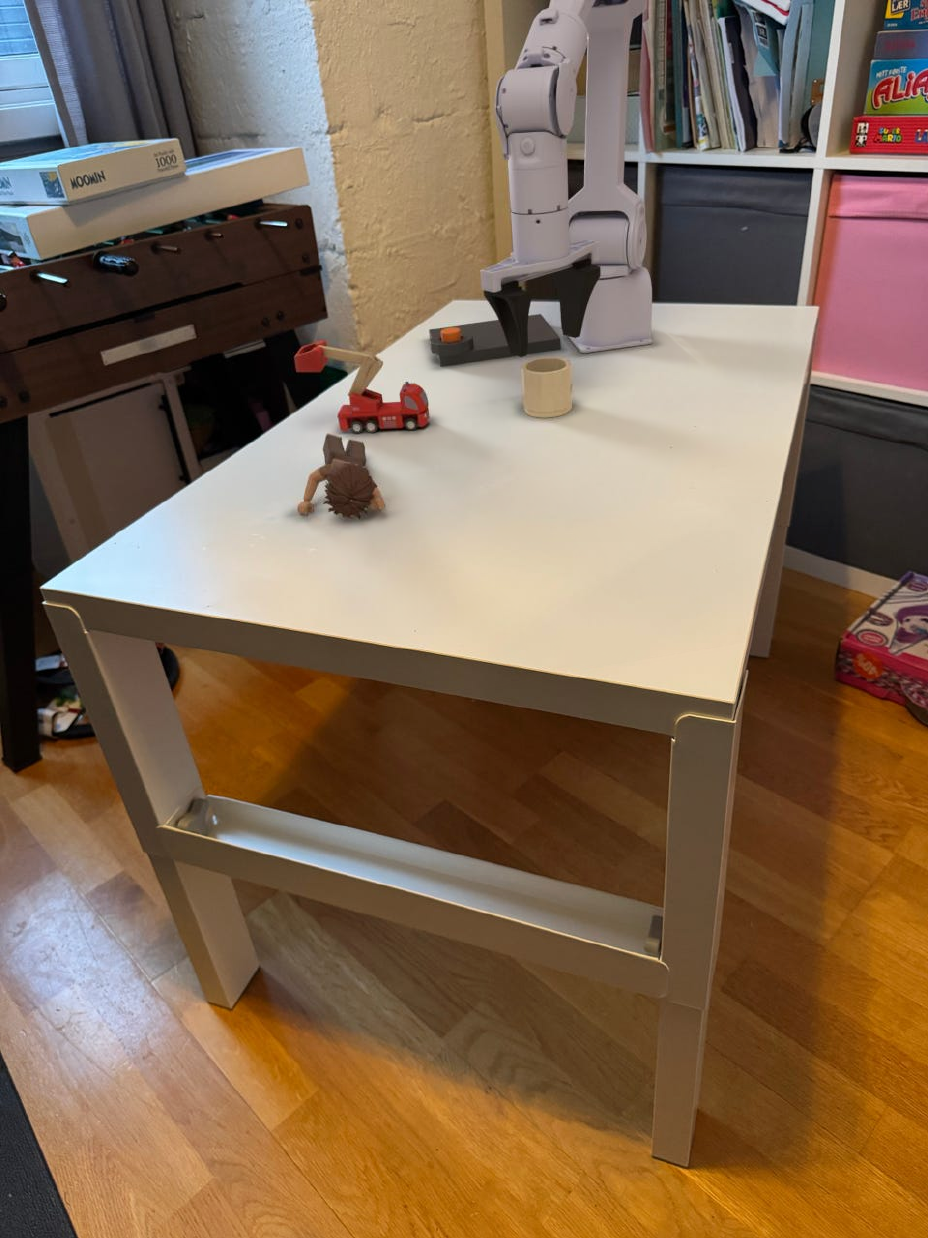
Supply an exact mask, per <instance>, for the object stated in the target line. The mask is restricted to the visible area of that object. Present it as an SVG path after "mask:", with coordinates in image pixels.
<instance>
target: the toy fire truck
mask: <svg viewBox="0 0 928 1238" xmlns="http://www.w3.org/2000/svg"><path fill="white" fill-rule="evenodd" d="M328 359H329V360H335V361H339V362H345V363H350V364H355V365H356V364H357V365H360V367H359V368H358V371H357V373H356V375H355V377H354V380H353V382H352V384H351V386H350V388H349V390H348V393H347V396H348V399H349V404H343V405H342V406H341V407H340V409H339V411H338V413H337V418H338V425H339V429H340V431H343V432H346V431H349V430H351V431H352V432H353V433H354V434H360V433H362V432H363V430H364V429H365V430H366V431H367V432H368V433H375V432H377V430H378V428H379V429H381V430H384V429H385V430H387V429H388V430H389V429H403V428H406V430H408V431H411V432H412V431H415V430H417V428H418V427H419V428H424V427H425V426H427V425H428V424H429V422H430V419H431V417H430V409H429V407H430V405H429V400H428V396H427V393H426V391H425V389H424V388H423V387H422V386H421V385H420V384H417V383H412V382H411V383H409V381H405V383H403V384H402V386H401V388H400V391H399V401H387V402H384V399H383V394H382V393H380V392H377V391H374V390H372V389H368V387H369V385H370V384H371V383H372V381H373V380H374V379H375V377H376V376H377V374H378V373H379V372H380V370H381V369H382V367H383V365H384V361H383V360H381V358H379V356H376V354H373V353H372V352H368V353H364V352H360V351H355V350H348V349H342V348H337V347H332V346H328V344H327V342H326V340H319V341H316V342H313V343H309V344H307V345H304V346H301V347H300V348H299V350H298V351H297V353H296V354H295V355H294V356H293V361H294V366H295V371H296V373H322V371H323V370H324V368H325V366H326V365H327V364H328Z"/></svg>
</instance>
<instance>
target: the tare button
mask: <svg viewBox="0 0 928 1238" xmlns="http://www.w3.org/2000/svg"><path fill="white" fill-rule="evenodd" d="M449 327H450V328H445V329H443V330H441V341H442V342H454V341H458V340H461V330H460V328H456V327H451V326H449Z"/></svg>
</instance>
